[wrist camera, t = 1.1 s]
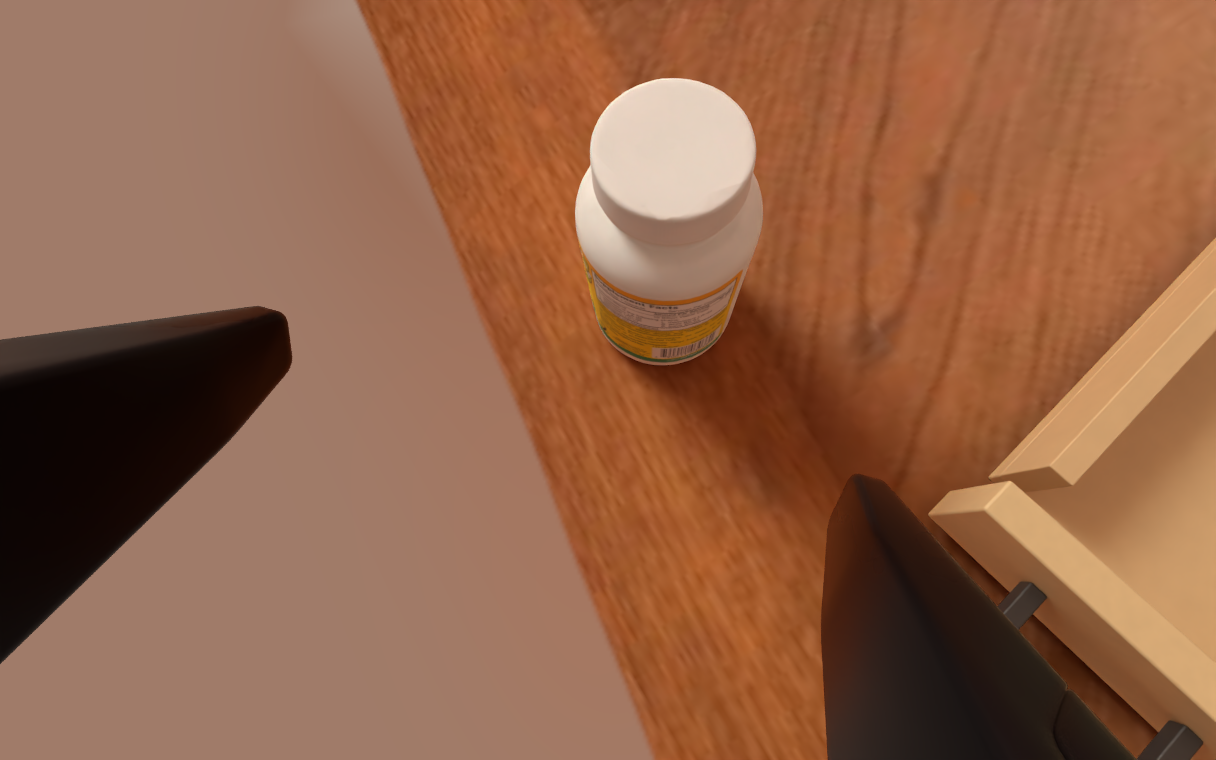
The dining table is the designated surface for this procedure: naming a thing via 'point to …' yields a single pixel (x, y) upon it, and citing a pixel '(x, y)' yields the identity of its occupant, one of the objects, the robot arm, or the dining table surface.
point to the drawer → (1121, 518)
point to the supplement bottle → (668, 218)
